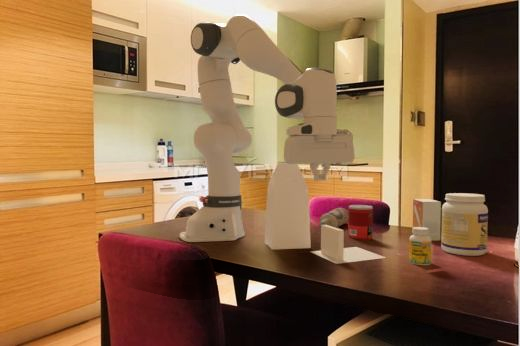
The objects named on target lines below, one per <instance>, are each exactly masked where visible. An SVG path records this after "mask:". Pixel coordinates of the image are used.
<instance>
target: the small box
mask: <svg viewBox="0 0 520 346" xmlns="http://www.w3.org/2000/svg"><path fill="white" fill-rule="evenodd" d="M441 224H442V201H438V200H435V199H431V198H413V199H412V228H413V227H425V228H428V229H429V233H428V234H427V236H429V237H430V238H431V242H432V241H435V242H436V241H438V242H439V241H441Z"/></svg>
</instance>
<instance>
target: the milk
mask: <svg viewBox="0 0 520 346" xmlns="http://www.w3.org/2000/svg"><path fill="white" fill-rule="evenodd" d="M266 192H267V193H266V206H265V207H266V210H265V227H264V245H266V246H268V247H269V248H270V249H271V250H288V249H289V250H292V249H293V250H294V249H295V250H296V249H311V244H312V243H311V223H310V196H309V195H310V194H309V187H308V184H307V181H306V179H305V177H304V175H303V173H302V171H301V169H300V166H299V164H287V163H278V162H277V163H276V165H275V167H274V170H273V173H272V175H271V177H270V179H269V181H268V184H267V189H266Z"/></svg>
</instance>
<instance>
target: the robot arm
mask: <svg viewBox="0 0 520 346" xmlns="http://www.w3.org/2000/svg"><path fill="white" fill-rule="evenodd" d="M190 33H191V34H190V45H191V47H192V50H193V51H194V53H196V54H198V55H199V56H200V57H199V59H198V61H197V79H198V80H197V82H198V87H199V94H200V101H201V105H202V109H203V112H205V114H206V115H207V116H208V117H209V119H210V120H211V122H208V123H203V124H201V125H199V126H198V127H197V128H195V129H196V130H195V131H194V134H193V144H194V146H195V148H196V149H197V150H198V151H199V153H200V154H201V156H202V158H203V161H204V163H205V167H206V171H207V186H208V187H207V190H208V191H207V192H208V193H207V194H208V195H206V196H203V195H201V196H199V201H200V202H201V203H202V207H201V208H199V209H198V210H197V211H196V212H195V213H193V214H192V215H191V216H189V217H188V219H187V221H186V227H185V231H181V232H180V233H179V238H180V240H182V241H184V242H188V243H201V242H202V243H204V242H226V241H228V242H229V241H236V240H237V239H240V238H243V237H245V235H246V234H245V231H244V226H243V219H242V207H243V201H242V195H241V173H240V170H239V169H238V168H237V167H236V165H235V162H234V158H233V156H238V155H241V154H243V153H245V152H247V151H248V150H249V149H250V147H251V145H252V141H253V139H252V135H251V132H250V131H249V129H247V128H246V126H245V125H244V122H243V121H242V119H241V116H240V114H239V112H238V110H237V107H236V104H235V100H234V95H233V89H232V84H231V78H230V73H229V66H230V64H233V65H237V64H238V63H239V62H240V61H241V62H242V63H243V65H245V66H246V67H247V68H249V69H250V70H252V71H254V72H257V73H261V74H264V75H267V76H270V77H273V78H276V79H278V80H279V81H280V82H282V83H283V85H282V86H280V88H278V89H277V92H276V94H275V97H274V107H275V110H276V112H277V113H278V114H279V116H280V117H283V118H287V119H293V120H294V119H295V120H303V122H302V123H298V124H296V125H292V126H291V127H288V128H286V135H287V138H286V139H285V140H284V141H285V142H284V146H283V160H284V162H286V163H287V164H298V165H301V164H302V165H303V164H304V165H306V164H309V168H310V170H311V172H312V174H313V180H314V181H315V182H317V181H327V175H328V173H329V171H330V168H331V164H348V163H349V164H352V163H353V162H354V160H355V158H356V157H355V148H354V147H355V146H354V135H353V133H352V132H351V131H349V129H338V120H337V119H338V115H337V113H336V112H337V111H336V105H337V103H338V101H337V100H338V97H337V96H338V95H337V94H338V93H337V92H338V91H337V80H336V76H335V74H334V72H333V71H332V70H330V69H326V68H319V67H309V68H306V69H305V70H304V72H302V70H301V69H300V68H299V67H298V66H297V65H296V64H295V63H294V62H293V61H292V60H291V59H290V58H289V57H288V56H287V55H286V54H285V53H284V52H283V51H282V50H281V49H280V48H279V47H278V46H277V44H275V42H274V41H273V40H272V38H270V37H269V35H268V34H267V33H266V32H265V31H264V29H263V28H262V27H261V26H260V25H259V24H258V23H257V22H256V21H255V20H254V19H252V18H251V17H249V16H248V15H247V14H240V13H239V14H236V15H234V16H232V17H230V19H228V20H227V22H226V23H217V22H210V21H207V22H206V21H204V22H199V23H197V24H196V25H195V26H194V27H193V29H192V30H191V32H190ZM319 164H321V168H323V169H322V170H321V172H319V170H318V168H319Z"/></svg>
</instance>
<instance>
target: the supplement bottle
mask: <svg viewBox="0 0 520 346" xmlns="http://www.w3.org/2000/svg"><path fill="white" fill-rule="evenodd" d="M411 232H412V233H411V234H412V235H410V236H409V242H408V244H409V245H408V247H409V248H408V249H409V251H408V255H409V256H408V257H409V258H408V261H409V263H410V264H413V265H417V266H419V265H420V266H430V265H431V264H432V241H431V238H430V237H429V236H427V234H428V233H429V229H428V228H425V227H413V226H412V229H411Z"/></svg>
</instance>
